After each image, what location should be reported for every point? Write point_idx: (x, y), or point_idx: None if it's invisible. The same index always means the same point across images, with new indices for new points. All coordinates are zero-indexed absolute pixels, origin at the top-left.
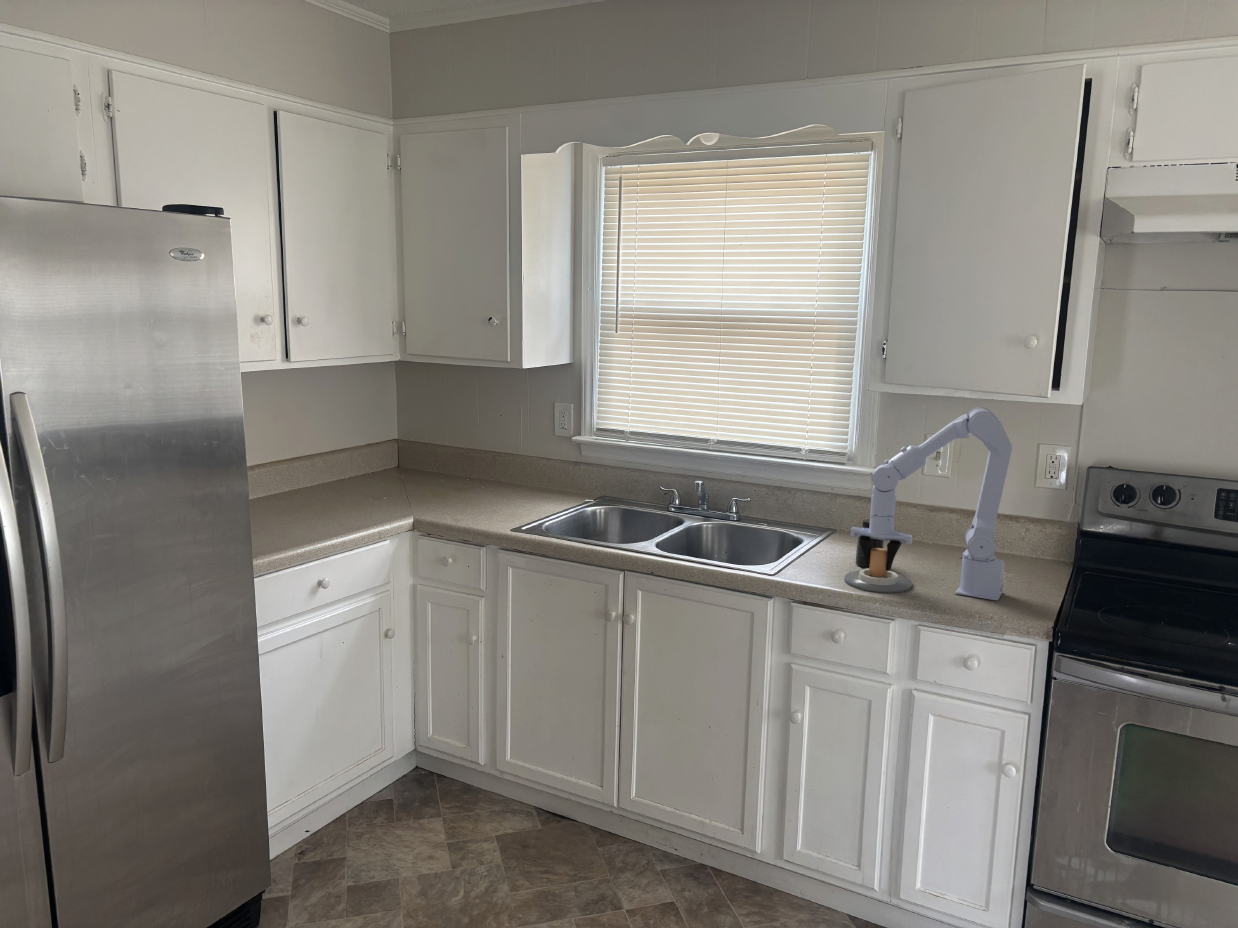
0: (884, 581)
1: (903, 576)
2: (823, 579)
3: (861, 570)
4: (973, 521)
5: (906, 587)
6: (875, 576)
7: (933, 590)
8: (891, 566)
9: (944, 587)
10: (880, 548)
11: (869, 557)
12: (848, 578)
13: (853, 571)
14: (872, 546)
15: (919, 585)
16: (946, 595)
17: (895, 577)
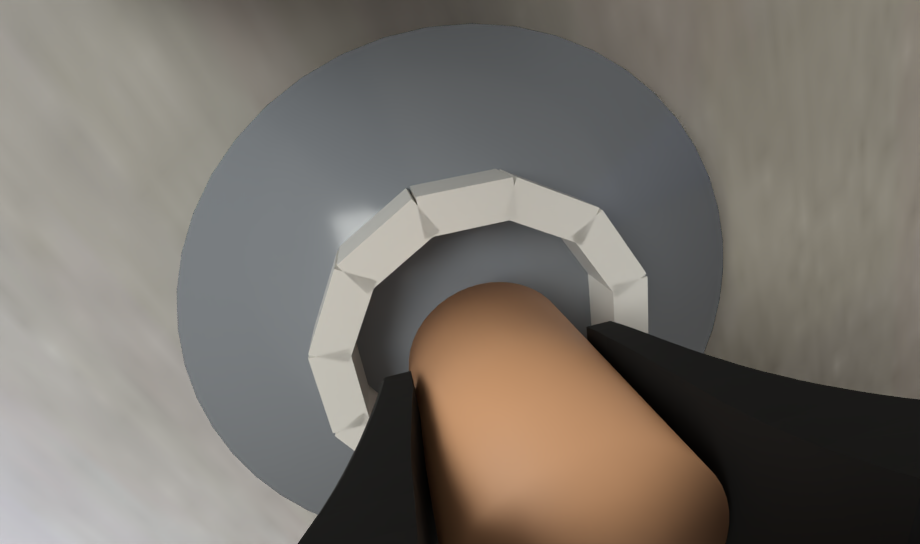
0: None
1: (619, 77)
2: (124, 539)
3: (325, 382)
4: None
5: (705, 342)
6: (424, 268)
7: (840, 190)
8: (628, 329)
9: (908, 53)
10: (563, 469)
11: (434, 520)
12: (290, 470)
13: (183, 273)
14: (419, 530)
15: (744, 145)
16: (914, 233)
17: None
